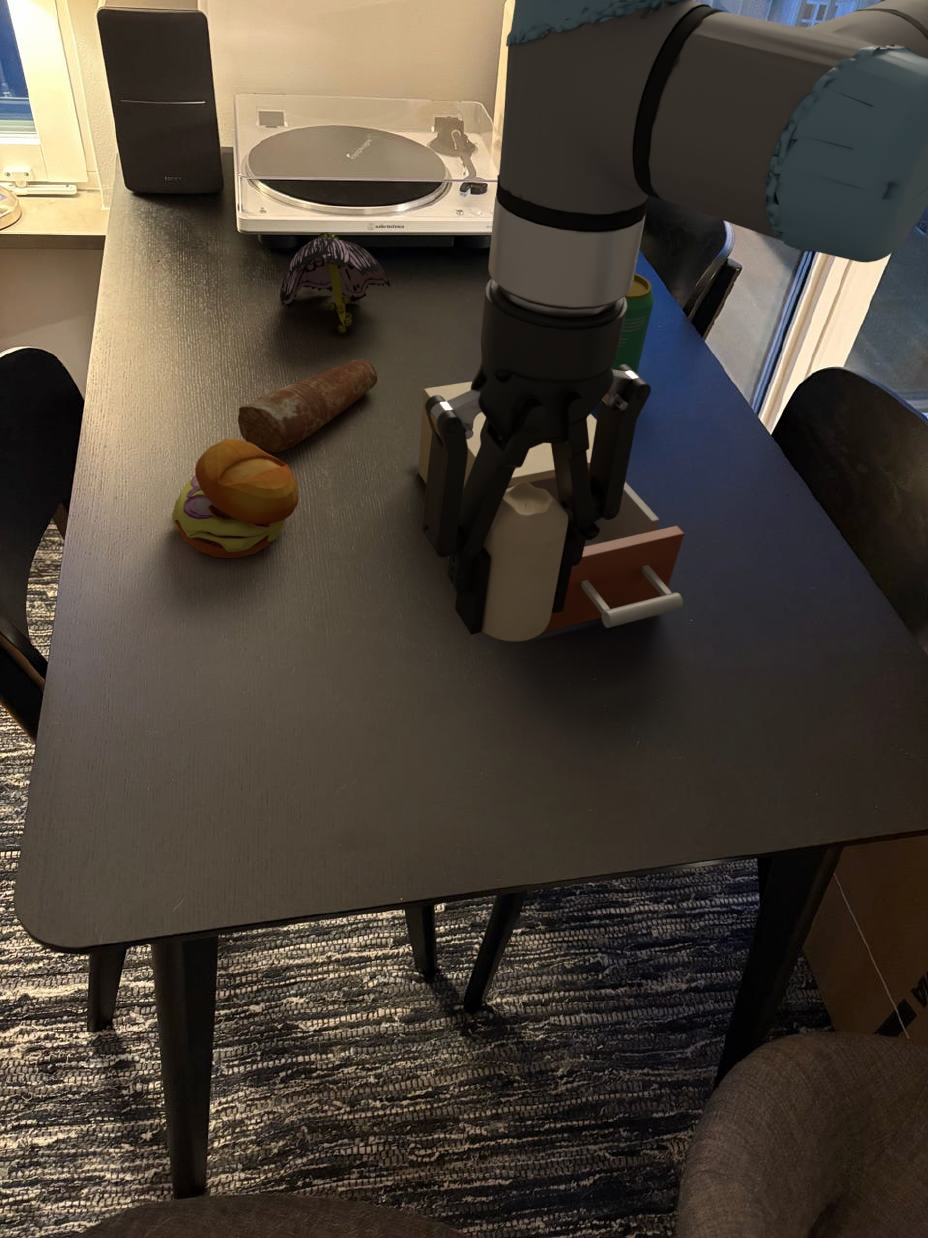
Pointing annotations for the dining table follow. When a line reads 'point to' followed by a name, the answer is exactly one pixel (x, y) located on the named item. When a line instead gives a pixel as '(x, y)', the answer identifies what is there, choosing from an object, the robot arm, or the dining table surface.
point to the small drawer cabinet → (535, 462)
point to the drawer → (621, 567)
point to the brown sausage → (304, 406)
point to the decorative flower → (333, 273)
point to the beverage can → (635, 323)
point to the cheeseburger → (235, 500)
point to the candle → (523, 563)
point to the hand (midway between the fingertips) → (509, 609)
